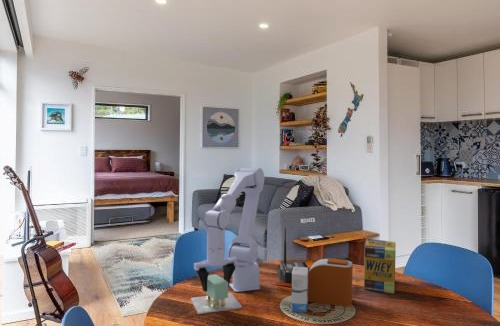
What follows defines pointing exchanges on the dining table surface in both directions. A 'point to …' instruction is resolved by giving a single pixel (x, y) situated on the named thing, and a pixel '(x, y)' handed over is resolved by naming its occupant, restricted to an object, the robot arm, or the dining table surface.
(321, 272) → the brown toaster
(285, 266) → the wireless controller
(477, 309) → the dining table surface
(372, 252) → the protein box
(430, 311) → the dining table surface
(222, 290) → the mint green cuboid
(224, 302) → the standoff posts
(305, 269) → the ink box
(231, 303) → the plate
